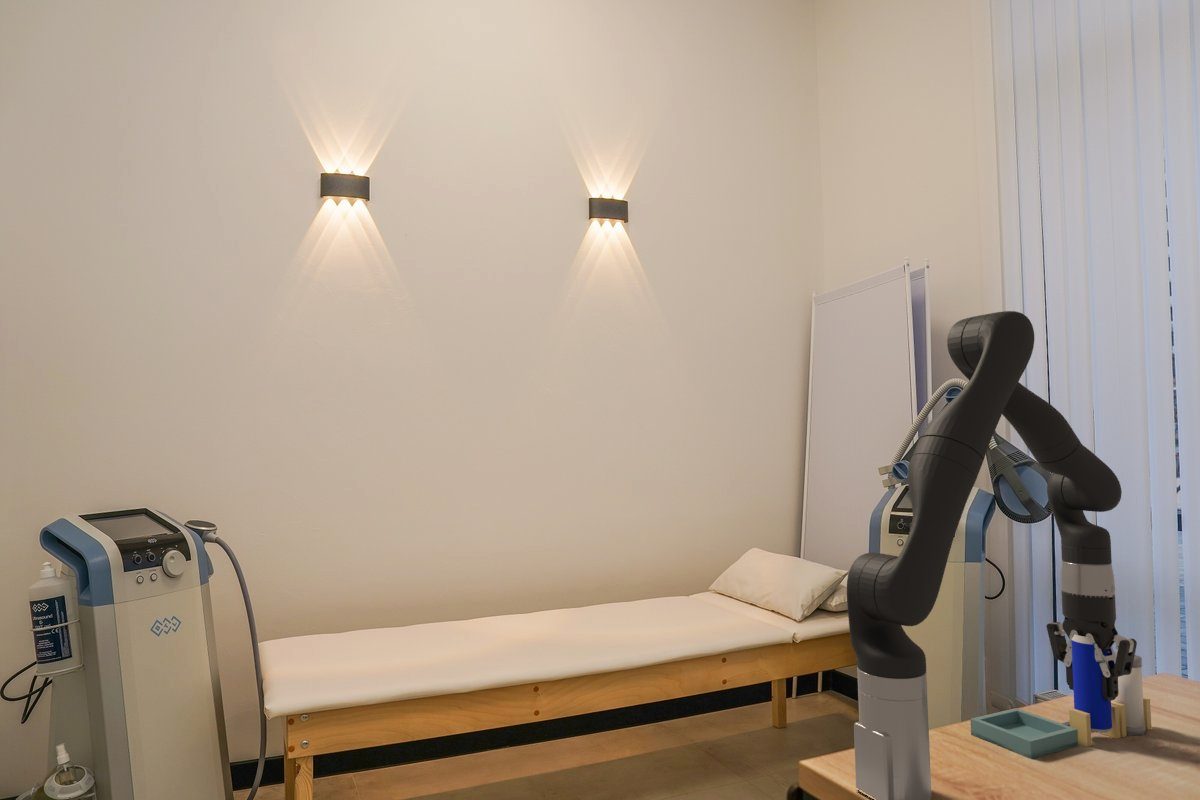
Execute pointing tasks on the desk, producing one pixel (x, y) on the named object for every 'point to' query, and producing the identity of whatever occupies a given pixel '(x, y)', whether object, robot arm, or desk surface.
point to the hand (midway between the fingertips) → (1092, 694)
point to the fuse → (1132, 698)
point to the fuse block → (1118, 729)
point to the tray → (1024, 732)
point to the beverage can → (1089, 685)
